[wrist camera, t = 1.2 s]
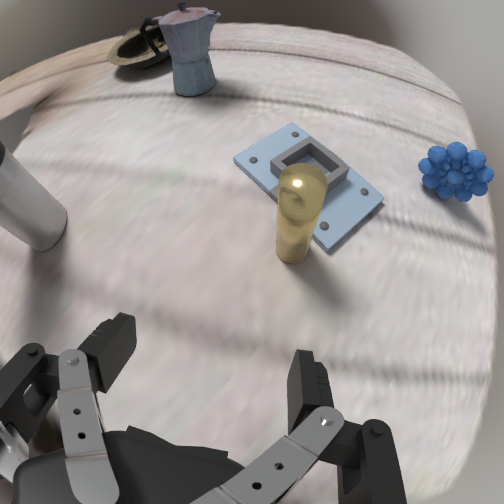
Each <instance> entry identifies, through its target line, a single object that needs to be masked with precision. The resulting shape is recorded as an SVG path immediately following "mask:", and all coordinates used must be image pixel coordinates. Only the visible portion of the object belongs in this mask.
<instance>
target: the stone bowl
mask: <svg viewBox="0 0 504 504" xmlns="http://www.w3.org/2000/svg"><path fill="white" fill-rule="evenodd" d="M164 16H165V15H164ZM142 24H143V23H141V24H139V25H137V26H135V27H133V28H132V29H130V30H128V31H127V33H126V34H125V35H124V36H123V39H121V40H119V41H118V42H116V44H115V45H114V46H113V48H112V49H111V50H110V51H109V53H108V56H107V61H109V62H110V63H113V64H114V65H127V66H129V67H130V68H136V69H145V68H147V67H148V66H151V65H153V64H156V63H158V62H160V61H162V60H163V59H165V58H166V57H168V56H169V55H170V53H169V50H168V47H167V45H166V42H165V39H164V37H163V34H162V31H161V29H160V26H147V27H146V29H145V30H146V32H147V33H148V34H149V36H150V37H151V39H152V40H153V42H154V43H155V46H156V47H157V48H158V49H159V51H161V52H162V51H166V52H167V55H164V56H156V54H155V53H154V51H153V50H152V49H151V47H150V46H149V44H148V43H147V42H146V40H145V39H144V37H143V36H141V33H140V31H139V29H140V27H141V25H142ZM144 52H146V53H144ZM142 53H144V54H142Z"/></svg>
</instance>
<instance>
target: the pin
mask: <svg viewBox="0 0 504 504" xmlns="http://www.w3.org/2000/svg"><path fill="white" fill-rule="evenodd" d="M327 188H328V182H327V178H326V176H325V175H324V173H323V172H322V171H321V170H320V169H318V168H317V167H315V166H313V165H310V164H306V163H296V164H292V165H289V166H288V167H286V168H285V169H284V170H283V171H282V172H281V174H280V176H279V186H278V211H277V233H276V253H277V256H278V257H279V258H280V259H281V260H282V261H283V262H285V263H288V264H296V263H299V262H301V261H302V260H303V259H304V258H305V257H306V255H307V252H308V249H309V246H310V243H311V240H312V237H313V234H314V231H315V228H316V224H317V221H318V218H319V215H320V212H321V208H322V205H323V202H324V198H325V195H326V192H327Z"/></svg>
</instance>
